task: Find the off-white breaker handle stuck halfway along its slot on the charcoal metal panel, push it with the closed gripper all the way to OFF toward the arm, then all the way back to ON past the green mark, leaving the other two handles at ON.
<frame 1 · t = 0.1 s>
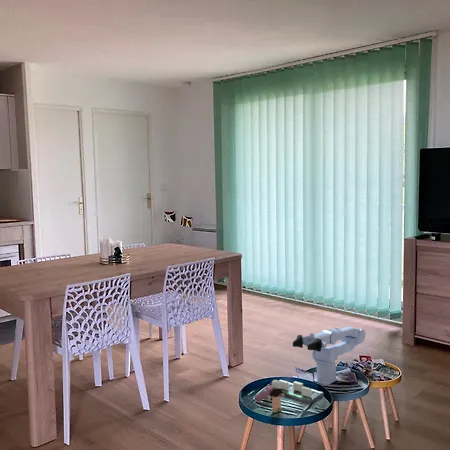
hand: (300, 345, 221), 22 cm above the table, tool horizontal, fingers open, 7 cm apart
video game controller: (266, 398, 219), on the table
breaker panel: (298, 394, 223), on the table
grandmother figurine: (275, 410, 207), on the table
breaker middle: (298, 394, 223), resting on breaker panel, slide at 2.5 cm
breaker 1: (283, 392, 225), resting on breaker panel, slide at 5.0 cm
breaker 2: (306, 399, 217), resting on breaker panel, slide at 5.0 cm
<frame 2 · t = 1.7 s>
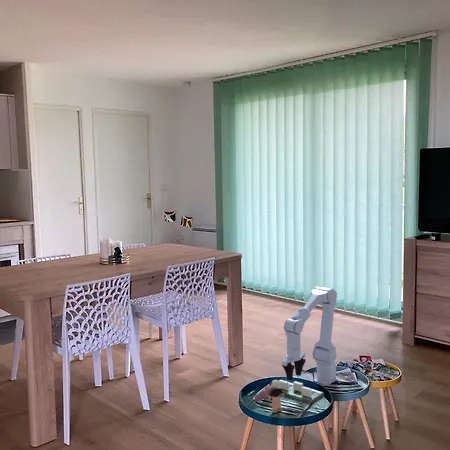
hand: (294, 377, 220), 8 cm above the table, tool pointing down, fingers open, 6 cm apart
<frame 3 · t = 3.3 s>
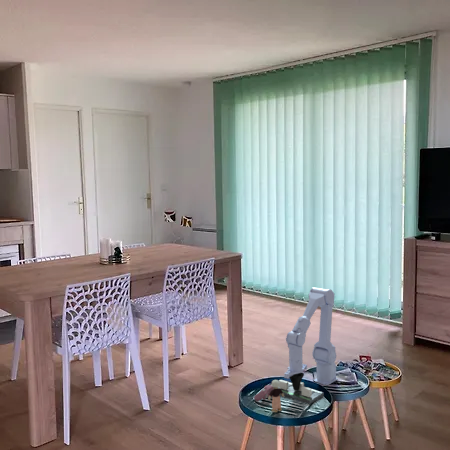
hand: (296, 389, 221), 3 cm above the table, tool pointing down, fingers closed
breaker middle: (299, 393, 223), resting on breaker panel, slide at 1.8 cm, touching gripper
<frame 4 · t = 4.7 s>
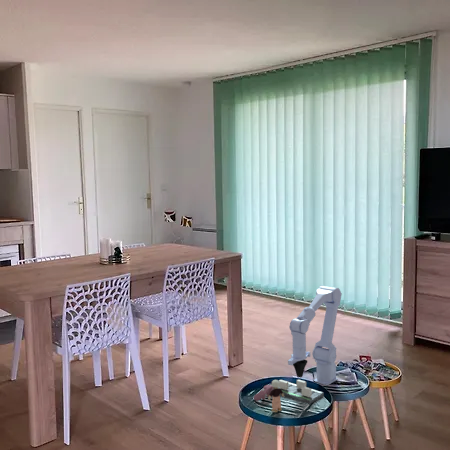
hand: (299, 376, 223), 8 cm above the table, tool pointing down, fingers closed
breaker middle: (301, 392, 225), resting on breaker panel, slide at -0.1 cm
everything else where it was.
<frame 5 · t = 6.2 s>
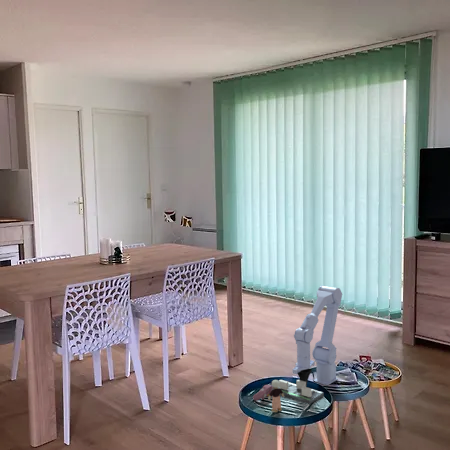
hand: (303, 385, 226), 3 cm above the table, tool pointing down, fingers closed
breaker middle: (301, 392, 224), resting on breaker panel, slide at 0.2 cm, touching gripper
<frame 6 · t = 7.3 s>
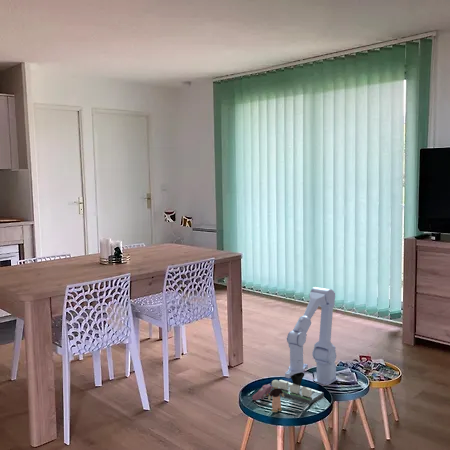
hand: (297, 389, 222), 3 cm above the table, tool pointing down, fingers closed
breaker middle: (294, 396, 221), resting on breaker panel, slide at 5.2 cm, touching gripper
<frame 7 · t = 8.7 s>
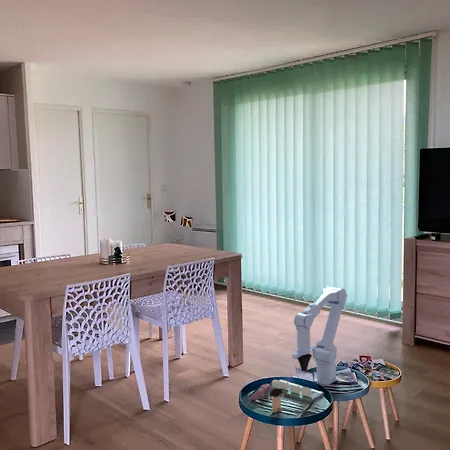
hand: (304, 370, 225), 9 cm above the table, tool pointing down, fingers closed
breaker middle: (294, 396, 221), resting on breaker panel, slide at 5.1 cm
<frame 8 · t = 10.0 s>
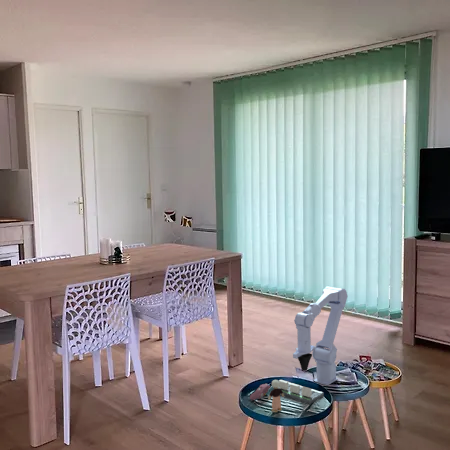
hand: (304, 370, 226), 9 cm above the table, tool pointing down, fingers closed
at the end: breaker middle slide at 5.1 cm; breaker 2 slide at 5.0 cm; breaker 1 slide at 5.0 cm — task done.
